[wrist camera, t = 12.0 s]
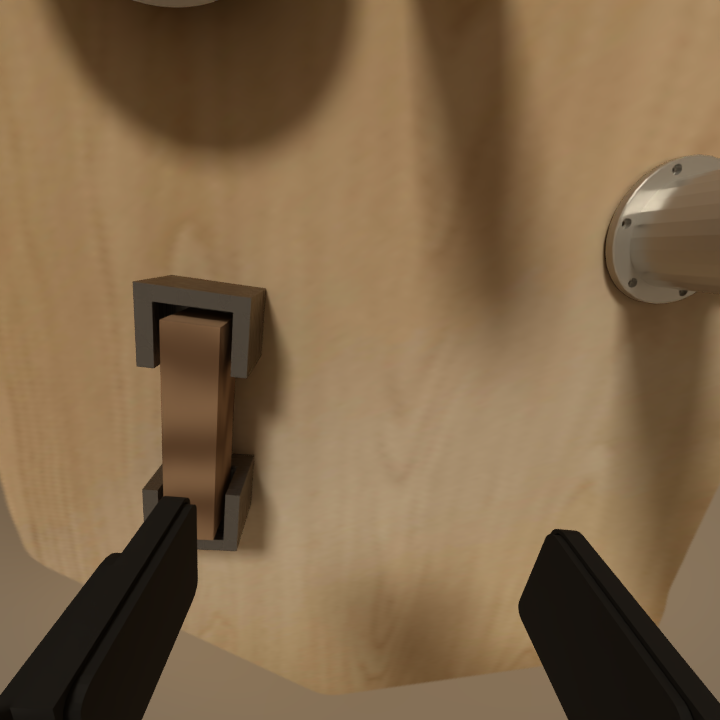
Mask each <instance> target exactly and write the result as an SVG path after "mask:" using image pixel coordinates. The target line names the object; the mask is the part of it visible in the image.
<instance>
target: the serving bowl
mask: <svg viewBox="0 0 720 720" xmlns="http://www.w3.org/2000/svg"><path fill="white" fill-rule="evenodd" d="M133 1H137V2H140V3H144V4H149V5H155V6H162V7H192V6H199V5H204V4H208V3H212V2H215V1H217V0H133Z"/></svg>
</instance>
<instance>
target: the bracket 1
mask: <svg viewBox="0 0 720 720" xmlns="http://www.w3.org/2000/svg"><path fill="white" fill-rule="evenodd" d="M265 295H266V289H265V288H258V287H251V286H244V285H237V284H230V283H223V282H216V281H209V280H202V279H195V278H189V277H182V276H175V275H169V276H163V277H157V278H151V279H145V280H139V281H133V299H134V320H135V342H136V363H137V366H138V367H147V368H155V367H156V366H158V365H159V364H160V328H159V320H160V319H163V318H165V317H167V316H170V315H172V314H174V313H177V312H179V311H182V310H184V309H186V308H194V309H201V310H209V311H216V312H224V313H231V314H233V328H232V351H231V375H230V377H239V378H247V377H248V375H249V374H250V372H251V371H252V369H253V367H254V366H255V364H256V363H257V361H258V359H259V358H260V356H261V352H262V338H263V323H264V309H265Z"/></svg>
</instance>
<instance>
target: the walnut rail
mask: <svg viewBox="0 0 720 720" xmlns="http://www.w3.org/2000/svg"><path fill="white" fill-rule="evenodd" d="M159 328H160V372H161V416H162V459H163V497H164V496H174V497H186V498H189V499H190V504H193V505H196V506H197V539H198V540H213V539H214V537H215V534H216V532H217V529H218V527H219V524H220V522H221V519H222V517H223V514H224V512H225V495H226V492H227V490H228V488H229V485H230V474H231V454H232V433H233V412H234V391H235V377H230V375H231V351H232V328H233V314H231V313H224V312H216V311H209V310H201V309H194V308H186V309H184V310H182V311H179V312H177V313H174V314H172V315H170V316H167V317H165V318H163V319H160V320H159Z"/></svg>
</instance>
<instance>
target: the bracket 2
mask: <svg viewBox="0 0 720 720" xmlns="http://www.w3.org/2000/svg"><path fill="white" fill-rule="evenodd" d="M253 466H254V455H241V454H231V474H230V485H229V488H228V490H227V492H226V495H225V512H224V514H223V517H222V519H221V522H220V524H219V527H218V529H217V532H216V534H215V537H214V539H213V540H198V539H197V549H201V550H224V551H237V548H238V545H239V541H240V538H241V535H242V532H243V528H244V525H245V522H246V518H247V515H248V512H249V509H250V505H251V494H252V480H253ZM142 492H143V513H144V521H145V520H146V519H147V517H148V516H149V514H150V513H151V512H152V510H153V509H154V508H155V506H156V505H157V503H158V502H159V501H160V499H161V498H162V497H163V464H162V465H161V466H160V467H159V469H158V470H157V471H156V473H155V474H154V475H153V476H152V478H151V479H150V480H149V482H148V483H147V484H146V486H145V487H144V488H143V489H142Z"/></svg>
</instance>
